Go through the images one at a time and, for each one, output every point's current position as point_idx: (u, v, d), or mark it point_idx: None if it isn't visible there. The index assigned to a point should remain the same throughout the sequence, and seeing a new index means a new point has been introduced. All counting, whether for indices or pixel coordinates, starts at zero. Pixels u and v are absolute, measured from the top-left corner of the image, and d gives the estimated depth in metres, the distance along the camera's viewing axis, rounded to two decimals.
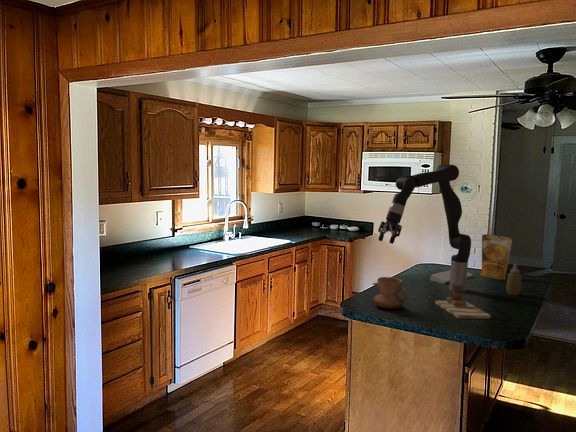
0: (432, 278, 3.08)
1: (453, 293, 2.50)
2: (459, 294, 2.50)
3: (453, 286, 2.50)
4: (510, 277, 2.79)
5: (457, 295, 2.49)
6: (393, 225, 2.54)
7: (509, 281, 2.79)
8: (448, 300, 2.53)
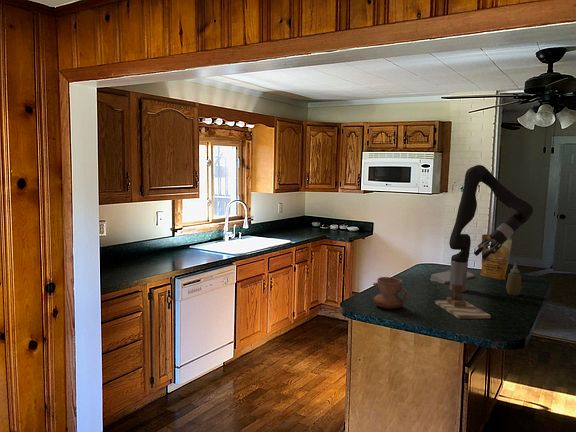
0: (432, 278, 3.08)
1: (453, 293, 2.50)
2: (459, 294, 2.50)
3: (453, 286, 2.50)
4: (510, 277, 2.79)
5: (457, 295, 2.49)
6: None
7: (509, 281, 2.79)
8: (448, 300, 2.53)
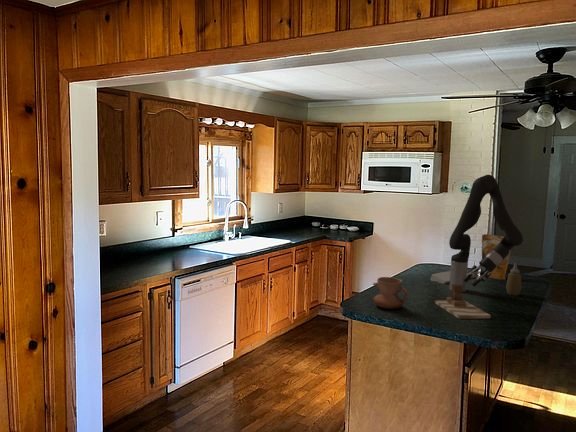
0: (432, 278, 3.08)
1: (453, 293, 2.50)
2: (459, 294, 2.50)
3: (453, 286, 2.50)
4: (510, 277, 2.79)
5: (457, 295, 2.49)
6: None
7: (509, 281, 2.79)
8: (448, 300, 2.53)
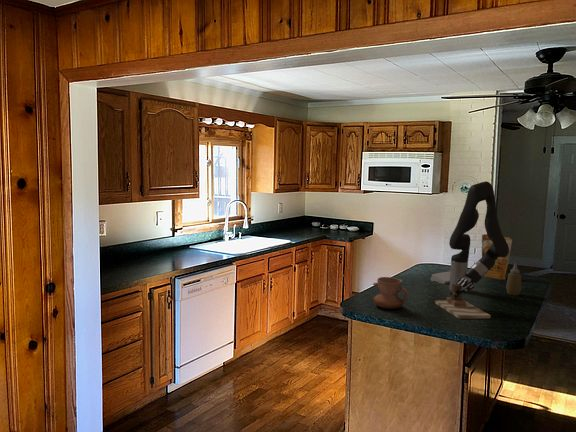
0: (433, 278, 3.08)
1: (453, 293, 2.50)
2: None
3: (453, 286, 2.50)
4: (510, 277, 2.79)
5: None
6: None
7: (509, 281, 2.79)
8: (448, 300, 2.53)
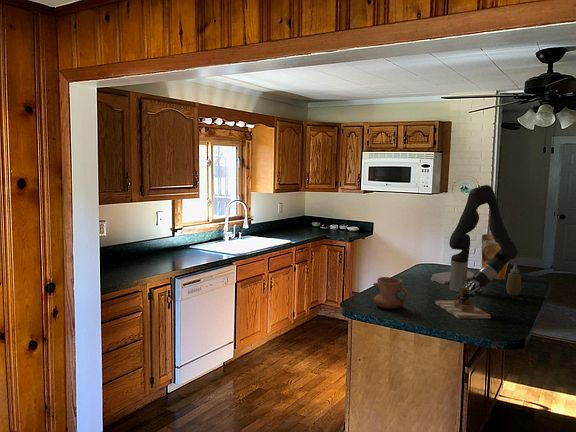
0: (433, 278, 3.08)
1: (460, 297, 2.43)
2: None
3: (460, 290, 2.43)
4: (510, 277, 2.79)
5: None
6: None
7: (509, 281, 2.79)
8: (455, 304, 2.46)
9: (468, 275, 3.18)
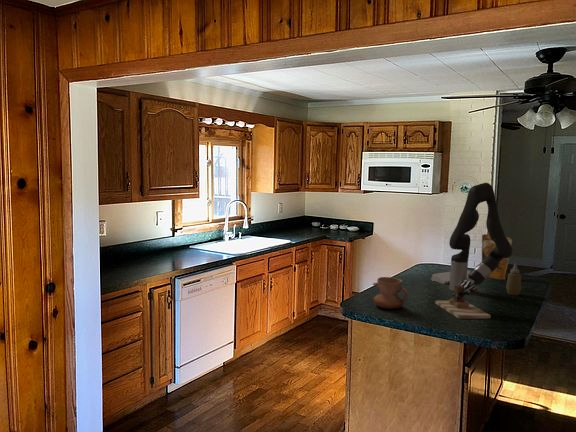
0: (433, 278, 3.08)
1: (456, 295, 2.47)
2: None
3: (456, 287, 2.47)
4: (510, 277, 2.79)
5: None
6: None
7: (509, 281, 2.79)
8: (451, 302, 2.50)
9: None
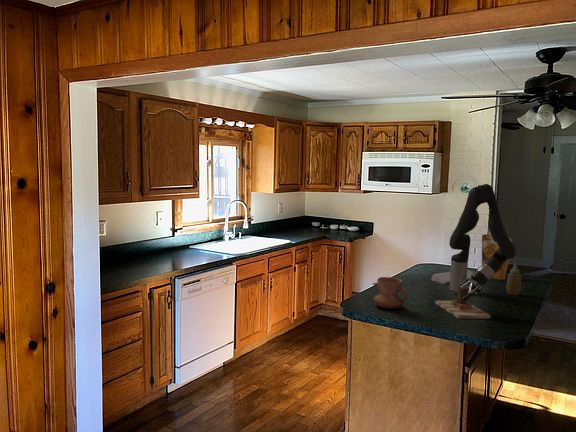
0: (433, 278, 3.08)
1: (458, 296, 2.44)
2: None
3: (458, 289, 2.44)
4: (510, 277, 2.79)
5: None
6: None
7: (509, 281, 2.79)
8: (453, 303, 2.47)
9: (470, 276, 3.17)
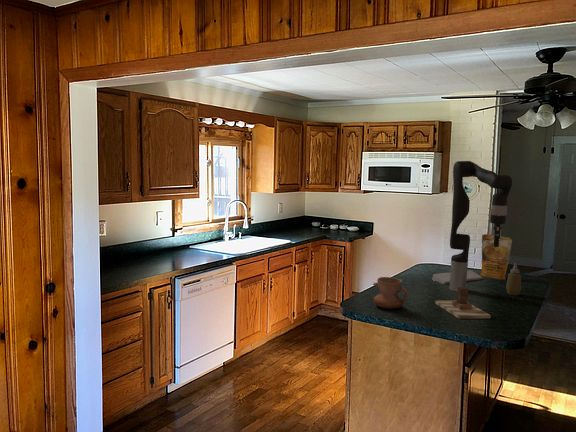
0: (434, 278, 3.08)
1: (458, 296, 2.44)
2: (465, 297, 2.44)
3: (458, 289, 2.44)
4: (510, 277, 2.79)
5: (463, 298, 2.44)
6: None
7: (509, 281, 2.79)
8: (453, 303, 2.47)
9: (472, 276, 3.16)
